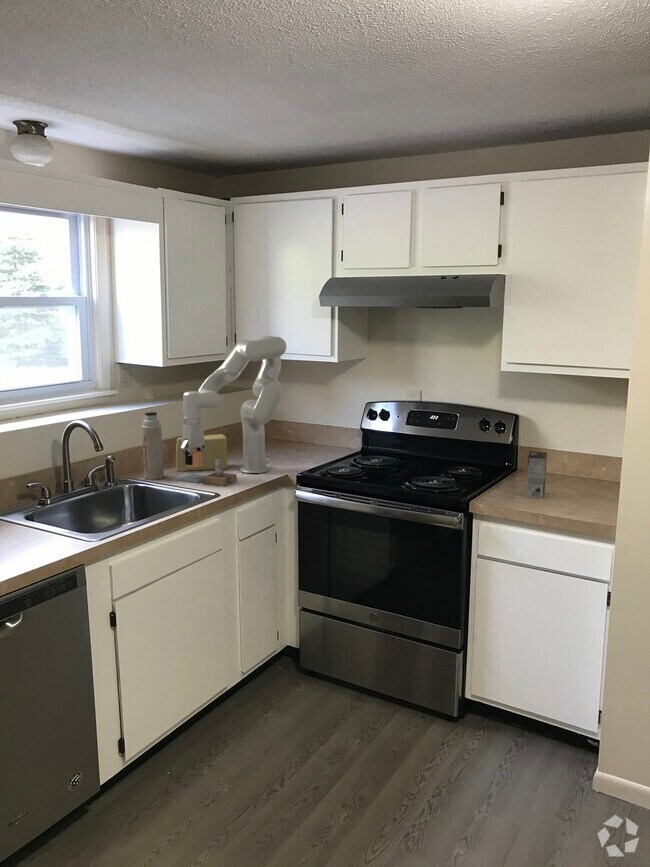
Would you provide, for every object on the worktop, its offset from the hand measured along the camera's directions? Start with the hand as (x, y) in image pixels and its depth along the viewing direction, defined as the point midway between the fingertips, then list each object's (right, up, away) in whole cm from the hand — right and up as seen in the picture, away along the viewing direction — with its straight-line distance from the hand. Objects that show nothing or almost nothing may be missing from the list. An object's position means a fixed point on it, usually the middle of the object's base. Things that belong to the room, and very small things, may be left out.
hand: (194, 462), depth 303 cm
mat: (0, -7, +1) cm, 7 cm away
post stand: (+12, -8, -5) cm, 15 cm away
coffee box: (+136, -11, -26) cm, 139 cm away
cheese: (0, -4, +19) cm, 20 cm away
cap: (0, -1, 0) cm, 1 cm away
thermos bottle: (-18, -7, +5) cm, 20 cm away
